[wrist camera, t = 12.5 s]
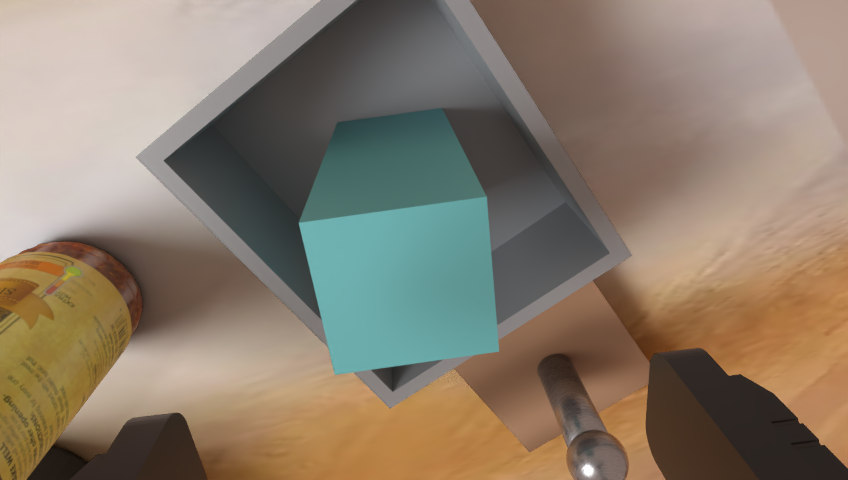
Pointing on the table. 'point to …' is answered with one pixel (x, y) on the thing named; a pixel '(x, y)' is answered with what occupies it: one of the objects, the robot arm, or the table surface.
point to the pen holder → (57, 465)
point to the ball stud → (581, 424)
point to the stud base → (557, 334)
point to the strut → (400, 245)
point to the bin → (373, 97)
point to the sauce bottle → (57, 342)
